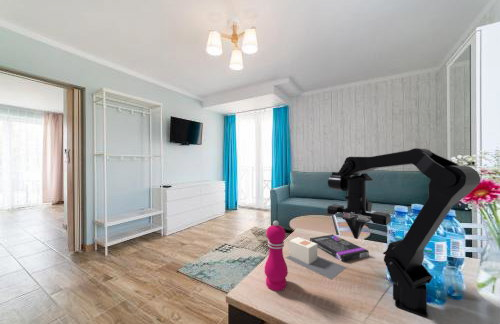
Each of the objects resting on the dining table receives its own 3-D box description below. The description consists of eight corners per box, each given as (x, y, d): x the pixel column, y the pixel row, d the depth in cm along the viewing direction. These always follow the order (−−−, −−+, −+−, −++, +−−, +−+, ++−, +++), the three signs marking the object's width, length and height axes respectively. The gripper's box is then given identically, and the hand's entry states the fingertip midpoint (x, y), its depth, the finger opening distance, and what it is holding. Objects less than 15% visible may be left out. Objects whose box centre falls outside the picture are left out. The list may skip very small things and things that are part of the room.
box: (368, 259, 79) (332, 240, 97) (369, 250, 79) (332, 233, 97) (342, 265, 74) (309, 244, 92) (342, 256, 74) (309, 236, 92)
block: (317, 243, 76) (298, 236, 83) (308, 248, 72) (289, 240, 79) (317, 259, 76) (298, 251, 83) (308, 264, 72) (289, 255, 79)
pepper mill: (274, 295, 56) (274, 225, 56) (259, 282, 62) (259, 219, 62) (292, 286, 60) (292, 221, 60) (277, 275, 66) (276, 216, 66)
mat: (346, 268, 70) (346, 267, 70) (331, 280, 63) (331, 279, 63) (301, 250, 84) (301, 249, 84) (285, 258, 77) (285, 257, 77)
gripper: (395, 193, 65) (396, 240, 65) (339, 188, 79) (340, 226, 79) (385, 197, 58) (385, 250, 58) (326, 191, 72) (326, 233, 72)
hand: (356, 238), depth 67 cm, fingers closed
